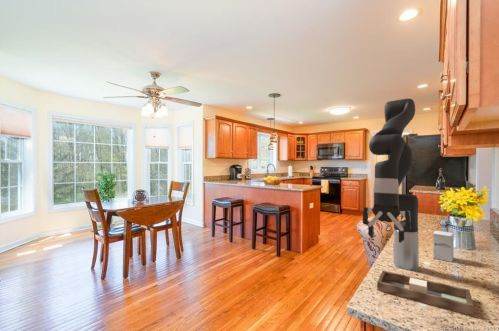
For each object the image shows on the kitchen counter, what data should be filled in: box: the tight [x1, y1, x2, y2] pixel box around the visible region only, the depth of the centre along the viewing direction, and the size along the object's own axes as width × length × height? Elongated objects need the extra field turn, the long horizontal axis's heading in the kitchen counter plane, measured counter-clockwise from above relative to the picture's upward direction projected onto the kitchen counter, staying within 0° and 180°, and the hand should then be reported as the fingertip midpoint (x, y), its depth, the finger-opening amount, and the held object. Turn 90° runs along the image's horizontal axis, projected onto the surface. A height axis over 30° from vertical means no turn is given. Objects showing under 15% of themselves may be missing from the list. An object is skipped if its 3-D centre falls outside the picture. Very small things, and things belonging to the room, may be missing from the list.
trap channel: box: [376, 270, 475, 317], centre depth 85 cm, size 26×12×4 cm, turn 52°
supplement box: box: [432, 230, 454, 263], centre depth 119 cm, size 7×7×13 cm
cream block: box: [409, 277, 427, 293], centre depth 85 cm, size 5×5×4 cm
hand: (385, 239), depth 82 cm, fingers open, 8 cm apart
